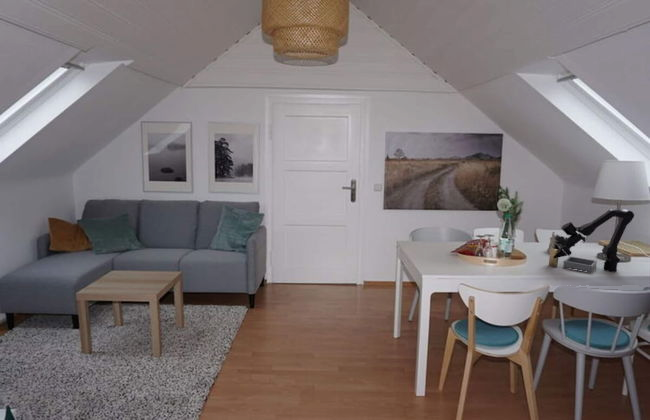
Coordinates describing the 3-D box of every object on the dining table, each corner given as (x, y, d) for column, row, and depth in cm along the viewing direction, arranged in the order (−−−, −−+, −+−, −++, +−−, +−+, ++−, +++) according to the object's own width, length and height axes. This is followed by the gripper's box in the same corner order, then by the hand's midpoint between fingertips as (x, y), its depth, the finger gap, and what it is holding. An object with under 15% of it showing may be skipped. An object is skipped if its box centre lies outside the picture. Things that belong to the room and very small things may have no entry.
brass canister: (558, 266, 301) (560, 249, 299) (556, 267, 297) (558, 250, 295) (549, 264, 304) (551, 248, 302) (547, 266, 300) (549, 249, 298)
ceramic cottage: (549, 254, 329) (552, 233, 327) (545, 249, 345) (548, 229, 342) (573, 257, 325) (577, 237, 323) (568, 253, 341) (571, 233, 338)
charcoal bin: (596, 267, 299) (596, 260, 298) (591, 273, 287) (592, 266, 286) (568, 262, 309) (569, 256, 308) (563, 267, 297) (563, 261, 296)
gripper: (559, 228, 304) (539, 243, 309) (568, 234, 286) (546, 250, 291) (571, 240, 304) (551, 255, 308) (580, 247, 286) (559, 263, 290)
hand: (551, 255), depth 299 cm, fingers open, 9 cm apart
